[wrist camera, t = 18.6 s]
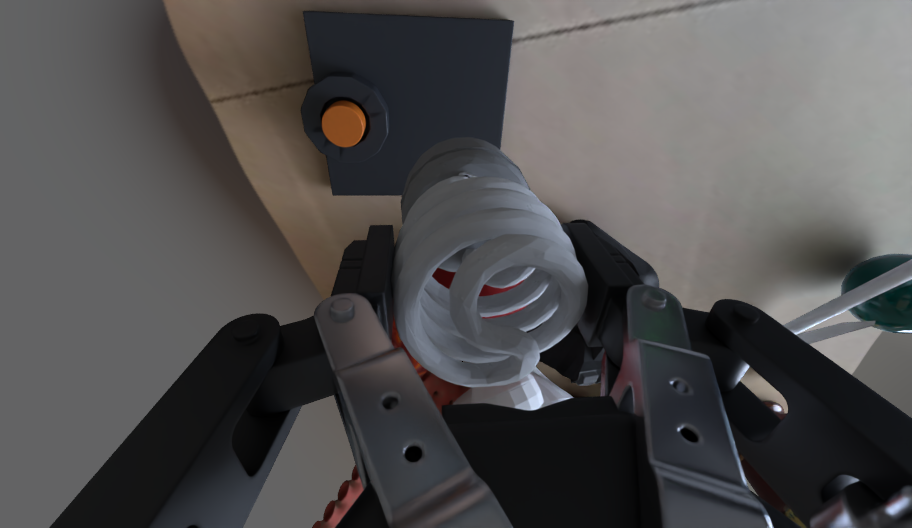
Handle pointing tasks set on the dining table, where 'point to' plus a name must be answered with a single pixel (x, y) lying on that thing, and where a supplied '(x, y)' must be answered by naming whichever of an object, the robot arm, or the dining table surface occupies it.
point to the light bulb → (480, 267)
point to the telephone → (518, 393)
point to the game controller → (572, 349)
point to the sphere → (893, 309)
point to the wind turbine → (847, 306)
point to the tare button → (343, 123)
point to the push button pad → (403, 89)
